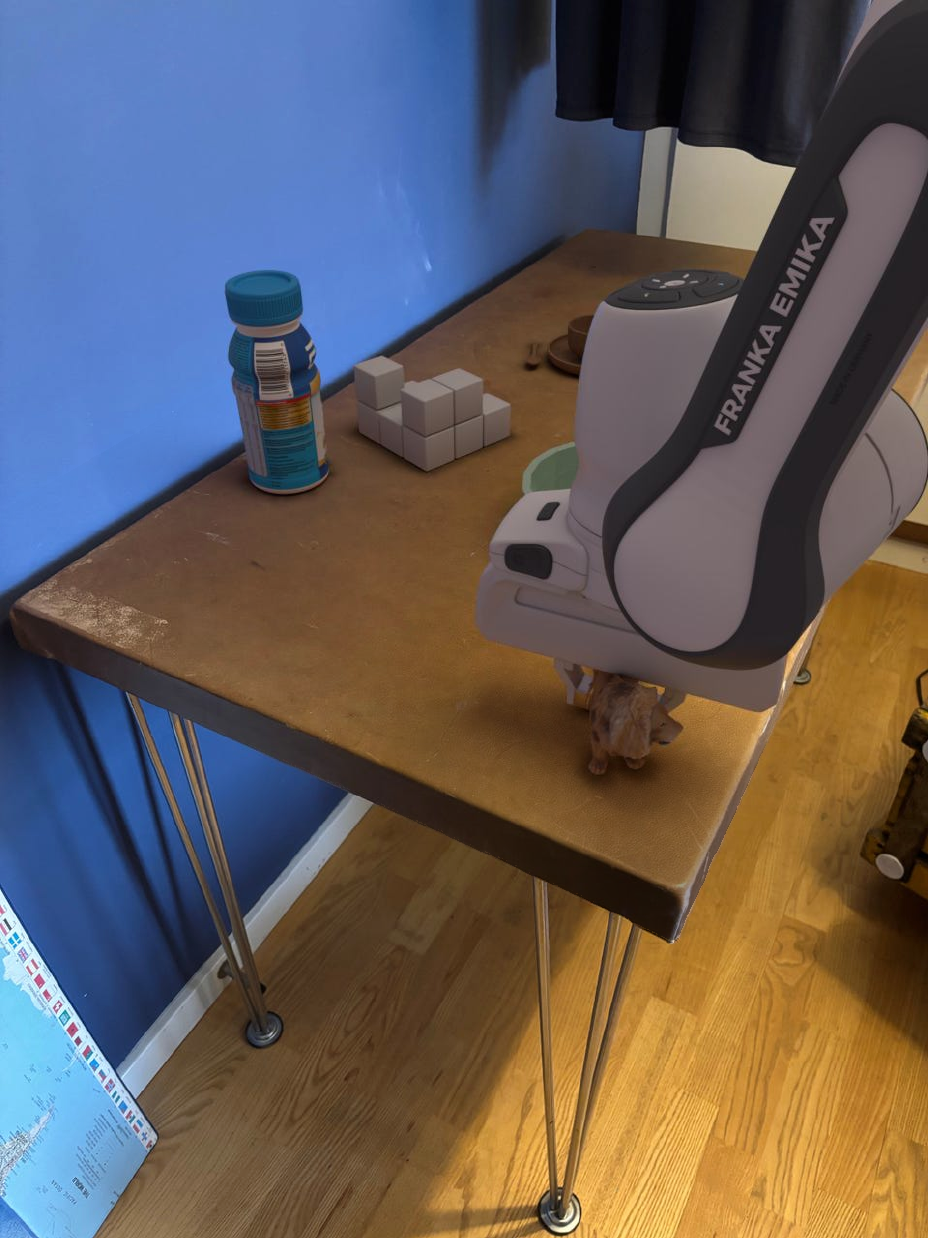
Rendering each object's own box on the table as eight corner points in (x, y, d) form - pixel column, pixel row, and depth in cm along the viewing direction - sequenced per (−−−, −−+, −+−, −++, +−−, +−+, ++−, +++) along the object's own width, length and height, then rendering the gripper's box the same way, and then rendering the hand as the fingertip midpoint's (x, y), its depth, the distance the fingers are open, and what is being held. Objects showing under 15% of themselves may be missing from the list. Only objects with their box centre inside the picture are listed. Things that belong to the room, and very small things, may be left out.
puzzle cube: (510, 436, 101) (512, 367, 96) (426, 472, 95) (423, 401, 90) (440, 400, 108) (439, 335, 103) (358, 432, 102) (352, 364, 97)
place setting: (661, 345, 120) (667, 300, 116) (673, 413, 105) (680, 364, 101) (528, 341, 122) (530, 296, 118) (520, 407, 106) (522, 359, 102)
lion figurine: (676, 810, 60) (692, 712, 54) (595, 816, 60) (603, 719, 54) (631, 661, 71) (641, 568, 65) (563, 666, 71) (567, 572, 65)
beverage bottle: (231, 483, 93) (193, 286, 81) (284, 449, 99) (256, 260, 86) (296, 505, 90) (267, 303, 77) (347, 468, 95) (328, 274, 83)
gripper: (823, 557, 54) (774, 722, 63) (501, 489, 60) (498, 647, 69) (810, 618, 50) (760, 787, 58) (464, 538, 56) (465, 701, 64)
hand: (615, 710), depth 64 cm, fingers closed on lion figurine, 4 cm apart
